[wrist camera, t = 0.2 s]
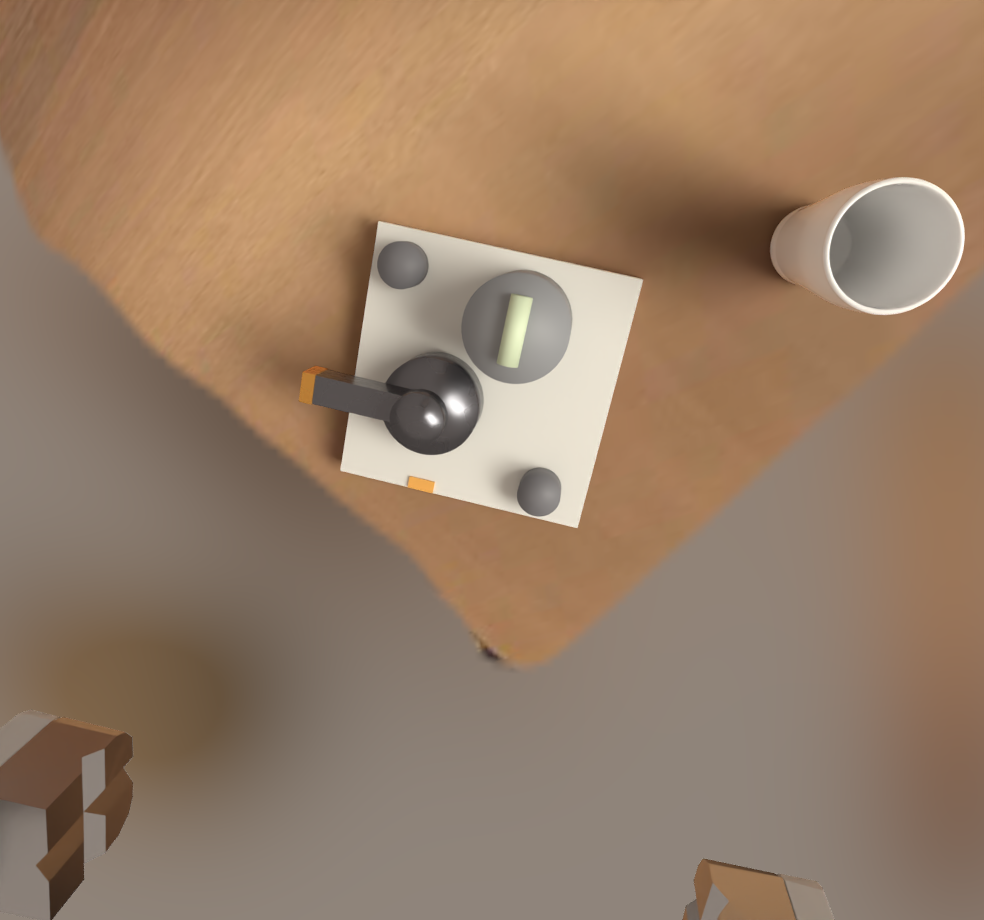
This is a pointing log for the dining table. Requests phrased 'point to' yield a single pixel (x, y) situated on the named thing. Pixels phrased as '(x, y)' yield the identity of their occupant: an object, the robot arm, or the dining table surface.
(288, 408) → the dining table surface
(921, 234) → the drinking glass
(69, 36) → the dining table surface
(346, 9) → the dining table surface
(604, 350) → the base
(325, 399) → the knob
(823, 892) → the robot arm
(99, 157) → the dining table surface
